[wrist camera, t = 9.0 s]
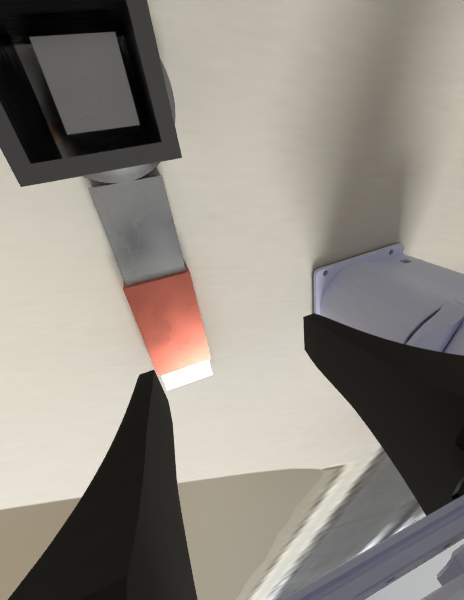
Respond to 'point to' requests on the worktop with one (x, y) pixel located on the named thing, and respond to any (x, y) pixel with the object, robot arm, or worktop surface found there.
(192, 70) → the worktop surface
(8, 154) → the hollow square tube
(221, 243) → the worktop surface
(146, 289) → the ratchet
